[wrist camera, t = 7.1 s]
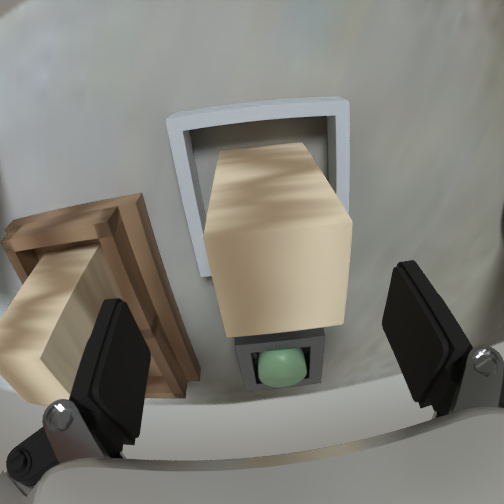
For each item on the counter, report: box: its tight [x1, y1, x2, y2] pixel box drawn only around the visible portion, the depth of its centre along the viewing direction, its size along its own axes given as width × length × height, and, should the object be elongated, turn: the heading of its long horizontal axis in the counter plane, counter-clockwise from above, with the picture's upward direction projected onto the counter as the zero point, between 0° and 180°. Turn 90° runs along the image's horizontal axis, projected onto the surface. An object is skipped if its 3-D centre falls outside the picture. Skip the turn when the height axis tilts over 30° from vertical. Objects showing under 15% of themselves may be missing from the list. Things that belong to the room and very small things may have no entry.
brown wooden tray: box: [1, 193, 201, 398], centre depth 24 cm, size 12×19×4 cm, turn 6°
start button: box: [257, 347, 307, 387], centre depth 27 cm, size 4×4×3 cm
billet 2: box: [203, 142, 353, 338], centre depth 16 cm, size 5×5×10 cm
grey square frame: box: [166, 96, 350, 277], centre depth 19 cm, size 10×11×2 cm
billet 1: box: [0, 244, 123, 406], centre depth 18 cm, size 5×5×10 cm
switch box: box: [235, 327, 325, 391], centre depth 27 cm, size 7×7×3 cm
